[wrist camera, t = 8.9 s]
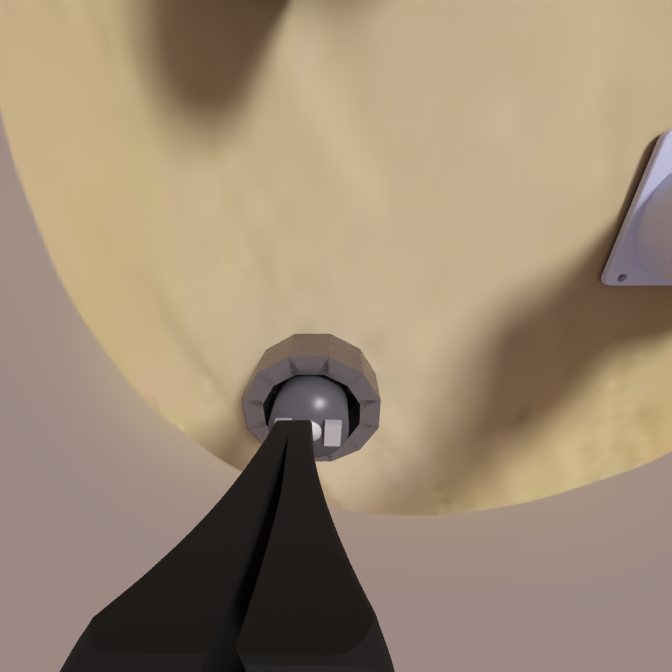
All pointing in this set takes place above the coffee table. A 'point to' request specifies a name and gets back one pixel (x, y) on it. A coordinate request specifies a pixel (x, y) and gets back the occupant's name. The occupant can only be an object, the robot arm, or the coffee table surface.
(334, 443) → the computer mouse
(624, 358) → the coffee table surface
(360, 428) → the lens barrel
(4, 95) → the coffee table surface
